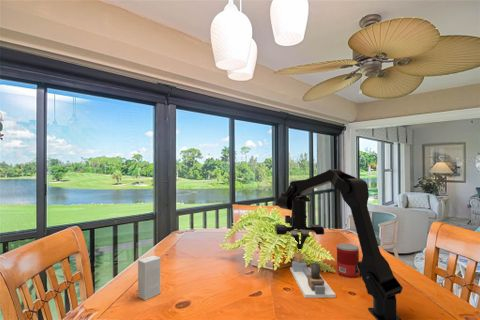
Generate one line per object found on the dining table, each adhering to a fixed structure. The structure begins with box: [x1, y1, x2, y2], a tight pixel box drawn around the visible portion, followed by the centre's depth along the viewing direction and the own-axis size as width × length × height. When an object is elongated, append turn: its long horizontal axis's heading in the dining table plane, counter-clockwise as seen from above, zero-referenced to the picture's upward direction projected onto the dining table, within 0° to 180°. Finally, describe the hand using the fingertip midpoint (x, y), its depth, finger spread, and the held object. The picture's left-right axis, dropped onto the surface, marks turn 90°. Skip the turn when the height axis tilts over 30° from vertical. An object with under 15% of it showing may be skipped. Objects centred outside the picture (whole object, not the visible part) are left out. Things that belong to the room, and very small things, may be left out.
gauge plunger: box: [295, 252, 303, 260], centre depth 105 cm, size 2×2×2 cm
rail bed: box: [289, 260, 337, 299], centre depth 96 cm, size 23×10×4 cm, turn 1°
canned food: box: [336, 243, 360, 279], centre depth 104 cm, size 8×8×11 cm
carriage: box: [307, 262, 325, 290], centre depth 90 cm, size 5×4×8 cm
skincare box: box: [137, 255, 162, 301], centre depth 87 cm, size 6×4×12 cm
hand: (299, 251), depth 105 cm, fingers closed
